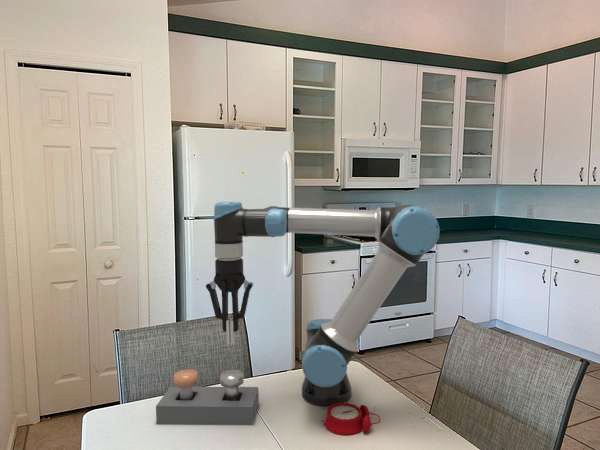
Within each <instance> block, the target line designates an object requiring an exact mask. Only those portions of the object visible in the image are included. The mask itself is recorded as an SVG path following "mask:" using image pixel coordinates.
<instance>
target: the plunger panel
mask: <svg viewBox="0 0 600 450" xmlns="http://www.w3.org/2000/svg"><path fill="white" fill-rule="evenodd" d="M259 400H260V399H259V387H258V386H239V400H238V401H226V387H223V386H193V400H180V389H179V387H177V386H169V387H168V389H167V391H166V392H165V393H164V395H162V397H161V399H160V400H159V401H158V402H157V404H156V405H155V417H156V418H155V420H156V425H200V426H201V425H204V426H205V425H207V426H208V425H214V426H215V425H216V426H218V425H222V426H223V425H224V426H228V425H229V426H253V425H254V422H255V418H256V414H257V410H258V408H259V403H260V402H259Z"/></svg>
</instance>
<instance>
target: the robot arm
mask: <svg viewBox="0 0 600 450" xmlns="http://www.w3.org/2000/svg"><path fill="white" fill-rule="evenodd" d="M213 208H214V210H213V211H214V213H213V222H214V223H213V228H214V257H215V263H214V264H215V265H214V266H215V267H214V269H215V270H214V271H215V276H214V277H213V280H212V281H210V282H208V283H206V285H205V288H206V290H207V291H208V293H209V296H210V300H211V303H212V308H213V312H214V316H215V318H216V319H220V320H222V331H223V332H225V333H226V345H235V342H236V333H237V332H238V331H239V328H240V326H239V325H240V323H239V320H240V319H241V320H242V319H243V318H244V317H245V315H246V311H247V307H248V302H249V297H250V291H251V290H252V288H253V286H254V283H253V282H252V281H251V282H250V281H248V280H246V277H245V275H244V259H243V258H242V257H243V256H244V250H243V249H244V246H243V243H244V241H243V239H244V238H243V237H246V238H247V237H257V238H258V237H262V238H263V237H264V238H265V237H266V238H267V237H269V238H270V237H271V238H276V237H284V236H285V235H287V234H288V233H292V234H309V235H311V234H312V235H329V236H330V235H332V236H333V235H334V236H337V235H338V236H354V237H355V236H357V237H374V238H375V240H377V242H378V251H377V252H376V254H375V255H374V257H372V260H370V262H369V264H368V265H367V266H366V269H365V270H364V271H363V273H362V274H361V276H360V277H359V279H358V280H357V282H356V283H355V284H354V286H353V288H352V289H351V291H350V292H349V294H348V295H347V297H346V298H345V300H344V301H343V302H342V304H341V306H340V307H339V309H338V310H337V311H336V313H335V314H334V316H333V317H332V318H317V319H312V320H309V321H308V322H307V323H306V329H305V331H306V343H305V347H304V351H303V355H302V357H301V368H302V372H303V374H304V379H303V382H302V385H301V397H302V399H304V400H305V401H306V402H307V403H309V404H311V405H316V406H320V407H330V406H331V405H333V404H337V403H348V401H350V400H351V398H352V386H351V382H350V379H349V377H348V374H347V369H348V365H349V363H350V362H351V360H352V359H353V357H354V356H355V355H356V353H357V352H358V351H359V347H358V340H359V339H360V337H361V336H362V334H363V333H364V331H365V329H366V328H367V327H368V325H369V324H370V322H371V321H372V319H373V318H374V317H375V315H376V314H377V312H378V311H379V309H380V308H381V307H382V305H383V303H384V302H385V300H386V299H387V298H388V296H389V294H390V293H391V292H392V290H393V289H394V287H395V286H396V285H397V283H398V281H399V280H400V279H401V277H402V276H403V274H404V273H405V271H406V270H407V269H408V268H412V267H416V265H418V263H419V262H420V260H421V259H422V258H423V256H424V254H427V253H429V252H430V251H431V250H432V249H434V247H435V246H436V244H437V243H438V241H439V238H440V232H441V231H440V225H439V221H438V220H437V218H436V217H435V215H433V213H432V212H431V211H430V210H429V209H426V208H424V207H422V206H417V205H413V204H412V205H411V204H410V205H408V204H407V205H400V206H388V207H387V206H386V207H383V206H379V207H377V208H376V209H375V210H373V209H372V210H370V209H342V208H339V209H337V208H316V207H315V208H314V207H313V208H312V207H284V206H283V207H282V206H281V207H280V206H273V205H270V206H268V207H265V208H244V207H243V204H242V202H241V201H218V202H216V203H215V204H214V207H213ZM242 286H243V288H244V292H243V296H242V301H241V306H240V312H239V290H240V289H241V287H242ZM216 288H218V289H219V290H220V291H221V306H220V302H219V298H218V293H217V289H216ZM229 293H231V305H232V306H231V308H232V310H231V311H232V318H230V317H229Z"/></svg>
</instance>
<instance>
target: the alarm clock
mask: <svg viewBox="0 0 600 450" xmlns="http://www.w3.org/2000/svg"><path fill="white" fill-rule="evenodd" d="M321 409H322V410H326V418H325V419H324V420H321V423H323V426H324V427H325V429H327V430H328V431H329V432H331V433H332V434H333V433H334V434H336V435H341V436H351V435H352V436H353V435H357V434H359V433H361V432H363V433H364V434H367V433H369V432H370V429H371V427H372V426H373V425H377V424H380V422H381V417H380V416H379V415H378V414H376V413H372V412H370V411H369V408H368V406H367V405H364V404H361V405H360V407H359V406H357V405H356V404H352V403H348V402H345V403H337V404H333V405H331V406H328V407H327V408H325V407H324V406H321ZM370 415H374V416H377V417H378V421H377V422H372V419H371V417H370Z"/></svg>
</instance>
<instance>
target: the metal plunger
mask: <svg viewBox="0 0 600 450" xmlns="http://www.w3.org/2000/svg"><path fill="white" fill-rule="evenodd" d="M244 378H245V377H244V372H243V370H239V369H228V370H224V371H222V372H220V375H219V381H220V382H219V383H220V384H219V385H220V386H221V387H226V401H238V400H239V387H241V386H242V385H243V384H244Z"/></svg>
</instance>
